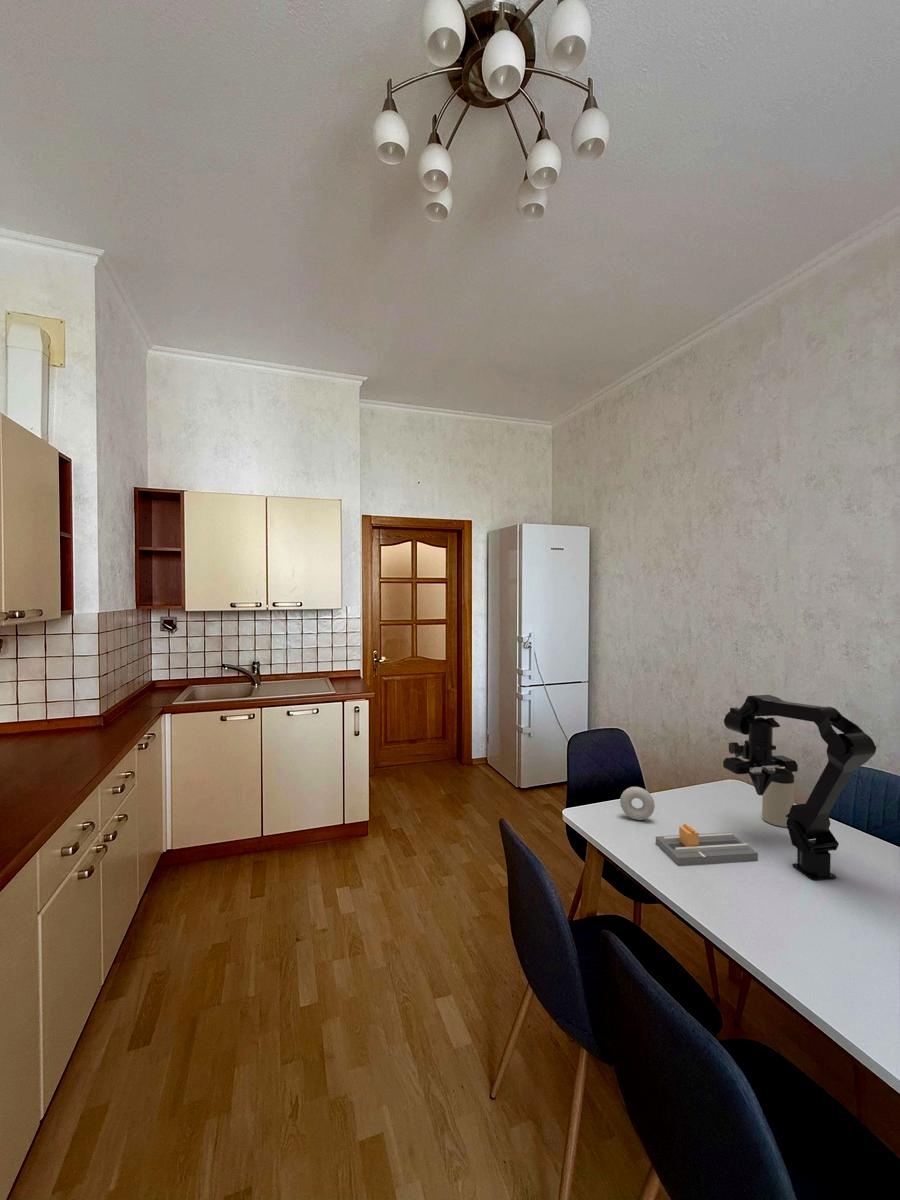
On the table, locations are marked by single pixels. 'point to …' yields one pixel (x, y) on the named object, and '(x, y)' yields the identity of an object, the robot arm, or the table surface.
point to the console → (707, 849)
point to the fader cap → (688, 836)
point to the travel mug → (778, 798)
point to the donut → (632, 811)
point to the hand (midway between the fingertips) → (759, 794)
